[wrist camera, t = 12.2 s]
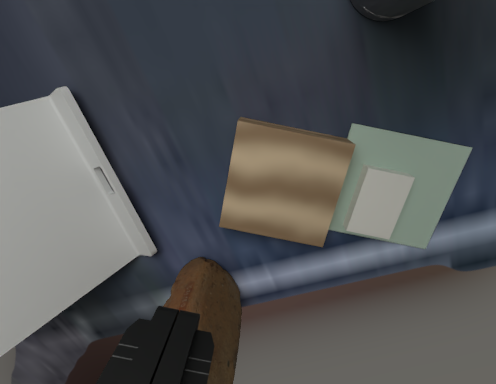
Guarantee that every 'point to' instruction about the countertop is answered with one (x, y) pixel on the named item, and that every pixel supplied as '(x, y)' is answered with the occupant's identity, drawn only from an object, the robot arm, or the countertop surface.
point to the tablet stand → (57, 214)
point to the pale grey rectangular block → (377, 201)
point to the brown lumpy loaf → (211, 311)
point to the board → (284, 181)
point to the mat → (414, 163)
